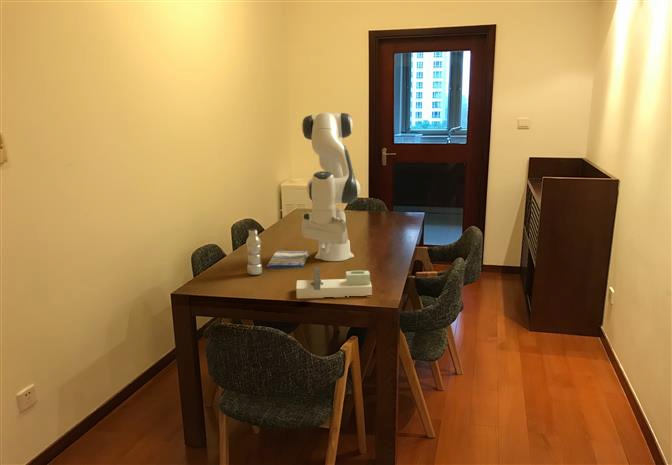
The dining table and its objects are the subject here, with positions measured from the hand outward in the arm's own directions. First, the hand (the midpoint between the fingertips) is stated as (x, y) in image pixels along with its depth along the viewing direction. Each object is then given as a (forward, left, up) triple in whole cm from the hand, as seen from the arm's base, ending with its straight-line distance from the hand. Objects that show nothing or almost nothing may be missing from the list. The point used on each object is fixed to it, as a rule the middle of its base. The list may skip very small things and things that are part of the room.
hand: (324, 251), depth 203 cm
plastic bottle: (-31, -30, -18) cm, 47 cm away
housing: (-4, +3, -18) cm, 19 cm away
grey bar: (-4, -3, -14) cm, 15 cm away
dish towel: (-50, -16, -19) cm, 56 cm away
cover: (-4, +13, -14) cm, 20 cm away
